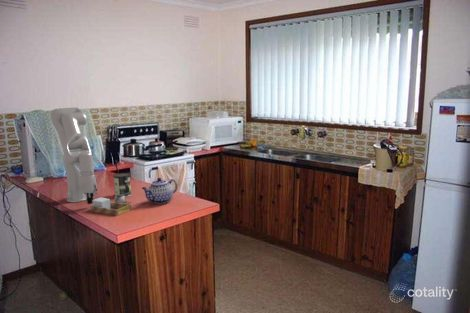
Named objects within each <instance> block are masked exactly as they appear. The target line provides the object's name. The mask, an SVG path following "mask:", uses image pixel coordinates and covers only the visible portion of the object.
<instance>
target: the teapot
mask: <svg viewBox="0 0 470 313" xmlns="http://www.w3.org/2000/svg"><path fill="white" fill-rule="evenodd" d="M172 182H173V183H174V189H173V186H172ZM141 189H142V190H143V191H144V193H145V194H144V195H145V198H146V200H147V201H149V202H153V203H154V204H158V205H159V204H160V205H161V204H162V203H163V204H167V203H169V202H170V201H171V200H172V198H173V196H174V194H175V193H176V192H177V189H178V182H177V181H176V180H175V179H173V178H171V179H169V181H168V180H166V179H162V177H157V179H156V180H154V181H151V184H150V185H149V187H148V188H147V187H146V186H143V187H141ZM166 202H167V203H166Z"/></svg>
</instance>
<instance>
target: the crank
mask: <svg viewBox="0 0 470 313" xmlns="http://www.w3.org/2000/svg"><path fill="white" fill-rule="evenodd" d="M125 191H126V192H125V193H122V194H118V195H117V197H121V196H123V195H125V194H128V193H129V192H130V191H129V185H125Z"/></svg>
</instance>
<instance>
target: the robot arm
mask: <svg viewBox="0 0 470 313" xmlns="http://www.w3.org/2000/svg"><path fill="white" fill-rule="evenodd" d="M49 116H50V121H51V123H52V124H51V125H52V126H53V127H54V128H55V130H56V132H57V135H58V138H59V139H58V140H59V142H60V145H61V148H62V152H63V155H62V161H63V165H64V169H65V174H66V182H67V192H66V193H65V196H66V197H67V198H66V201H67V203H79V202H84V201H86V202H87V204H88V205H90V204H93V202H92V200H94V195H97V194H98V192H97V191H98V184H97V179H96V175H95V170H94V168H95V167H94V157H93V153H92V148H91V146H90V143H89V140H88V137H87V136H86V135H85V134H82V131H81V128H80V127H81V126H86V125H87V123H88V118H87V115H86V113H84V111H83V110H82V109H80V108H79V107H59V108H58V107H57V108H54V109H51V111H50V115H49Z"/></svg>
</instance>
